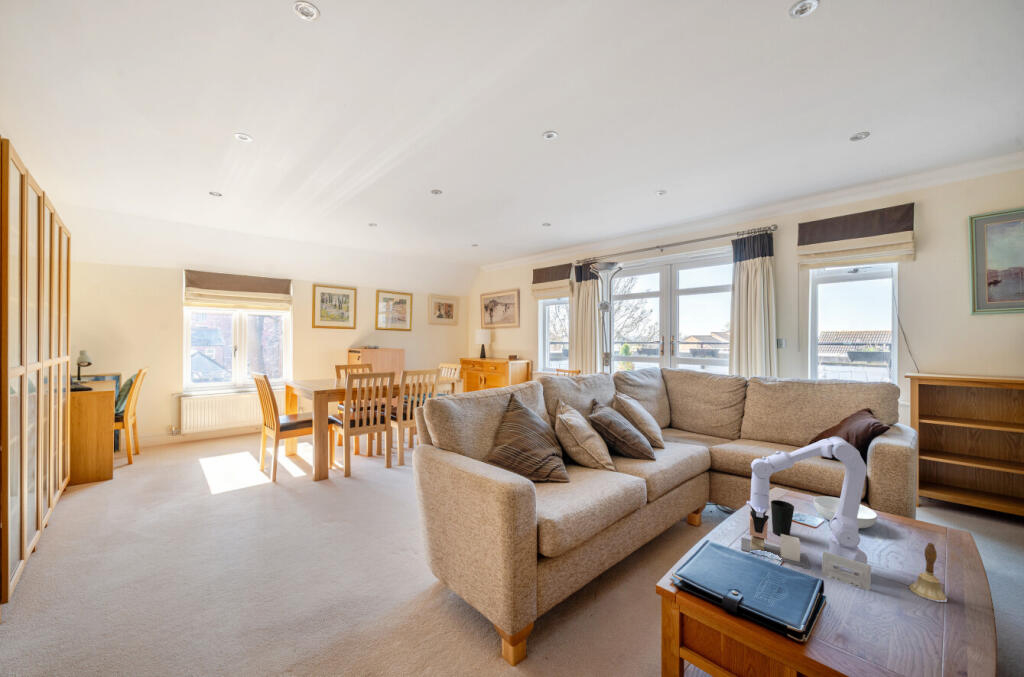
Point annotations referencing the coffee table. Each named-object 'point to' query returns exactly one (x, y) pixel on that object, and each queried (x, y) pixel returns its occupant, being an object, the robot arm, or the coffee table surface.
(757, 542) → the letter cube
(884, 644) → the coffee table surface
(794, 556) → the cream block
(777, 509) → the cup
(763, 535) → the terracotta cover
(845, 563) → the cassette
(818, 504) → the serving bowl
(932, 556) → the hand bell
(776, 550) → the charcoal mat
